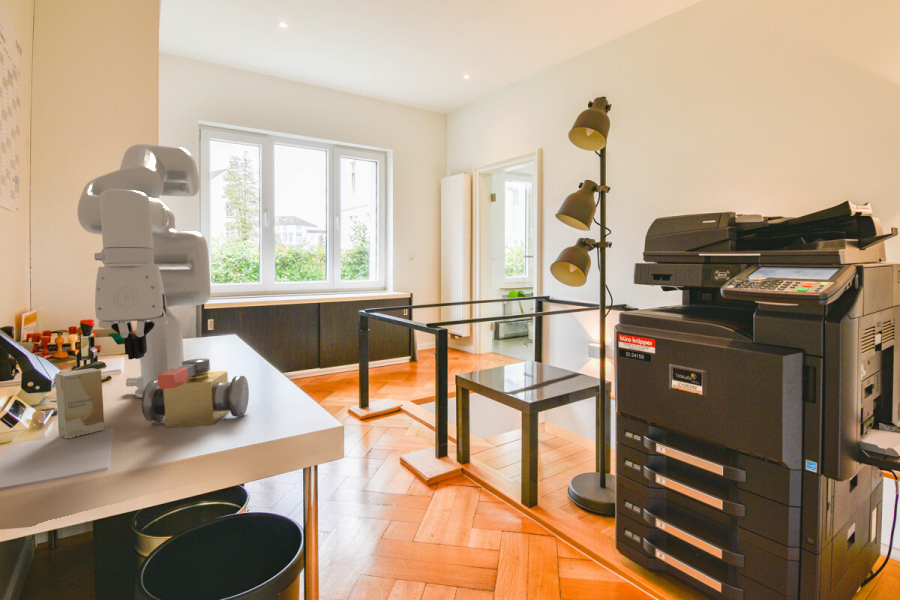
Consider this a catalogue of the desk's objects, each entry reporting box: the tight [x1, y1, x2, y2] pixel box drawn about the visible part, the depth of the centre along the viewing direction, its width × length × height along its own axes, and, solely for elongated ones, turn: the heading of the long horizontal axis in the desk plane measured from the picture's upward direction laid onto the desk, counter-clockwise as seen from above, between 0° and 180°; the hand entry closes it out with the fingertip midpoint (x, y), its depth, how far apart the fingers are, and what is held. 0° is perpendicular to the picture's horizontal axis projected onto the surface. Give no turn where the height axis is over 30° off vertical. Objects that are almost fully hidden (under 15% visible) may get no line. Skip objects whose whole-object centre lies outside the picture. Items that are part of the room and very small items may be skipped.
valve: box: [141, 370, 250, 429], centre depth 94 cm, size 18×9×10 cm, turn 98°
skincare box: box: [54, 367, 105, 439], centre depth 87 cm, size 6×4×12 cm
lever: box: [158, 358, 211, 389], centre depth 89 cm, size 15×5×2 cm, turn 8°
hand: (136, 357), depth 83 cm, fingers closed
